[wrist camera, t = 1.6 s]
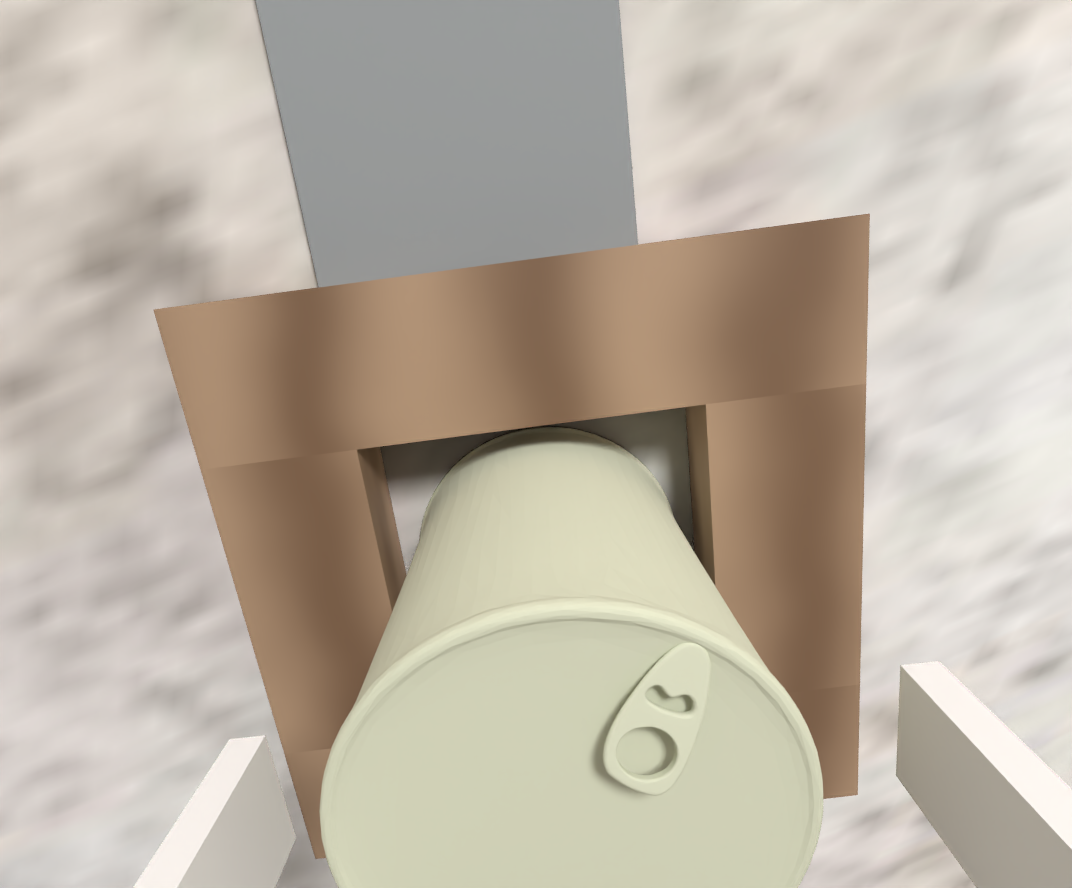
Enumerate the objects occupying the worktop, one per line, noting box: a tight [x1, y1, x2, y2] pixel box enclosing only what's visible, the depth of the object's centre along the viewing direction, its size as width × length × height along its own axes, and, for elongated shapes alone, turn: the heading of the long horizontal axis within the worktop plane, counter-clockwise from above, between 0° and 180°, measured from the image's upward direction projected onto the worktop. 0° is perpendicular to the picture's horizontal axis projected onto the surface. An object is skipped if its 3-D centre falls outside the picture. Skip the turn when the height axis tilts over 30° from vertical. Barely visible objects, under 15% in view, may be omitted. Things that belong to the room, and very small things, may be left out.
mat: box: [256, 0, 638, 287], centre depth 18 cm, size 10×10×1 cm
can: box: [319, 427, 823, 888], centre depth 16 cm, size 9×9×12 cm
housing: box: [154, 214, 870, 859], centre depth 21 cm, size 20×20×2 cm
